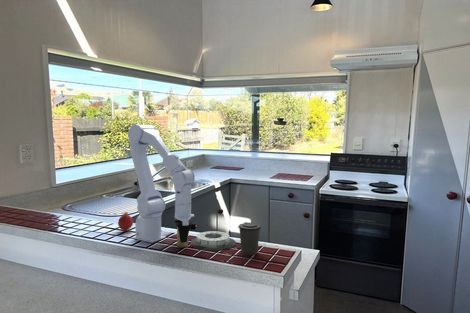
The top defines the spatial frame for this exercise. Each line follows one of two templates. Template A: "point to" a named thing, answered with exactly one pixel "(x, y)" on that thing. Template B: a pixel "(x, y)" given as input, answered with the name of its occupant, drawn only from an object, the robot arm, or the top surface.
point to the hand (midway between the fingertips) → (182, 240)
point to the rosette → (213, 241)
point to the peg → (180, 241)
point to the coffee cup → (249, 237)
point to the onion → (125, 222)
